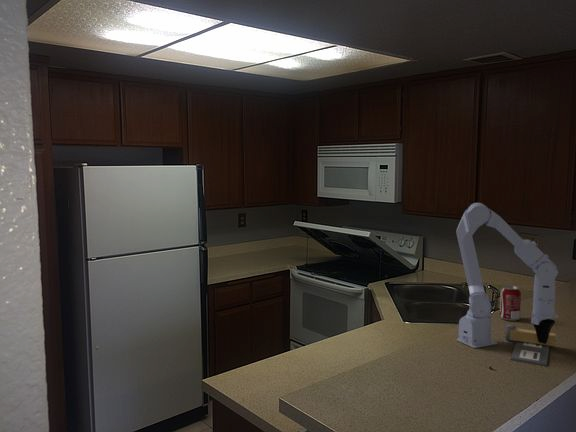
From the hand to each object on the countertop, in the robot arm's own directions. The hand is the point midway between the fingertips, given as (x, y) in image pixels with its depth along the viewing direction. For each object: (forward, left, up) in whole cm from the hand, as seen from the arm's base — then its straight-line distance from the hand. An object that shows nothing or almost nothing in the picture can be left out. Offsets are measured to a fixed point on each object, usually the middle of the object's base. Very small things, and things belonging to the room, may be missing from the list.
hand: (542, 342), depth 145 cm
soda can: (+17, +27, -2) cm, 32 cm away
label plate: (-5, +1, -2) cm, 5 cm away
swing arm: (0, +5, -1) cm, 5 cm away
